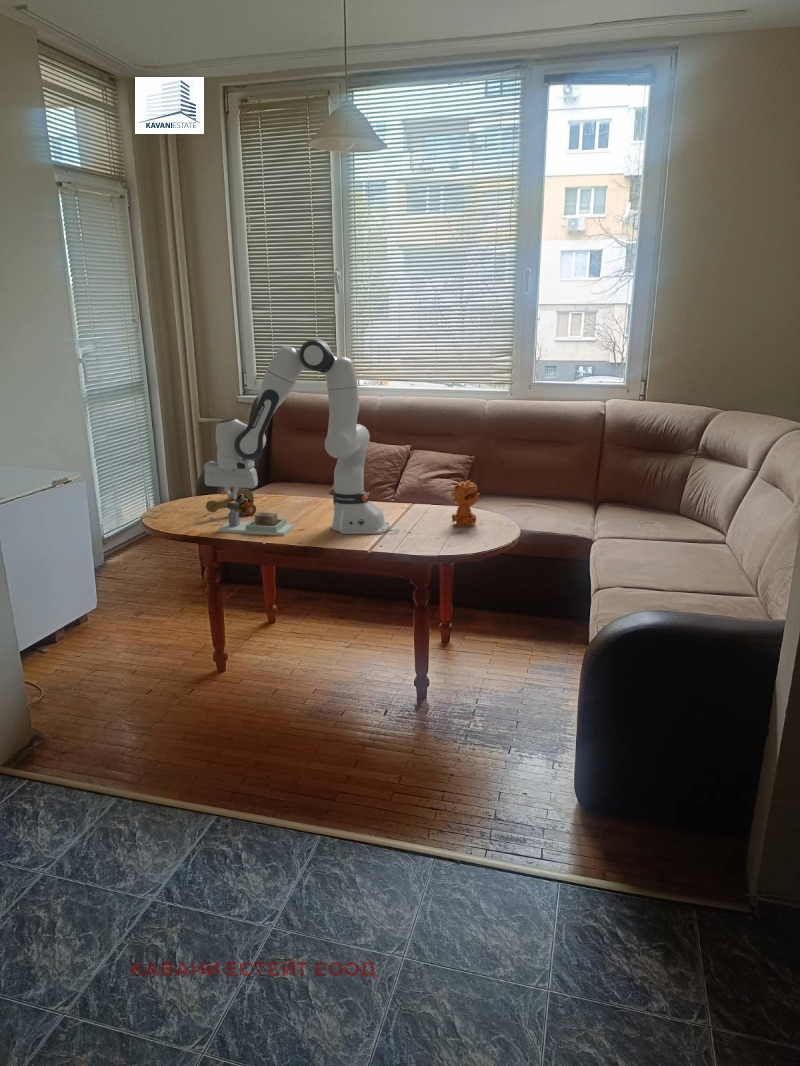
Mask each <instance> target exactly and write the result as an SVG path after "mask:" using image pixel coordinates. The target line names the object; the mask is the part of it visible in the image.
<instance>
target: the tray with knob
mask: <svg viewBox="0 0 800 1066" xmlns="http://www.w3.org/2000/svg"><path fill="white" fill-rule="evenodd" d="M227 516H228V522H227V523H225V524H224V525H222V526H220V527H219V528H218V532H219V533H230V534H247V535H262V536H263V535H264V536H265V535H266V536H280V537H284V536H285V535H287V534H288V533H289V532H291V531H292V530H293V529H294V528H295V525H294V524H292V523H289V524H288V523H287V518H277V522H278V524H277V525H275V526H262V525H255V518H254V519H253V520H251V521H240V514H239V512H235V513H232V512H231V511H230V512H229V513H228V515H227Z"/></svg>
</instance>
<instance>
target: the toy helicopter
mask: <svg viewBox="0 0 800 1066" xmlns="http://www.w3.org/2000/svg"><path fill="white" fill-rule="evenodd" d="M229 490H230V492H231V493H234V491H235V490H233V487H230V488H229ZM225 494H226V495H227V493H226V492H225V490H222V492H221V493H220V495H222V496H223V495H225ZM236 494H237V498H236V499H231V498H228V497H227V498H226V499H221V500H218V501H216V500H214V499H210V500H208V501H207V502H206V504H205V508H206V510H207V511H208V512H209V513H216V512H217V511H218V510H221V509H228V508H227V503H228V502H239V508H235V512H239V515H240V514H245V515H247V516H255V515H256V512H257V507H256V505H255V504H254V501H255V499H254V498H255V497H254V496H255V495H254V493H253V491H251V490H249V489H248V488H239V490H238V492H237V493H236ZM229 510H230V512H232V509H229Z"/></svg>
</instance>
